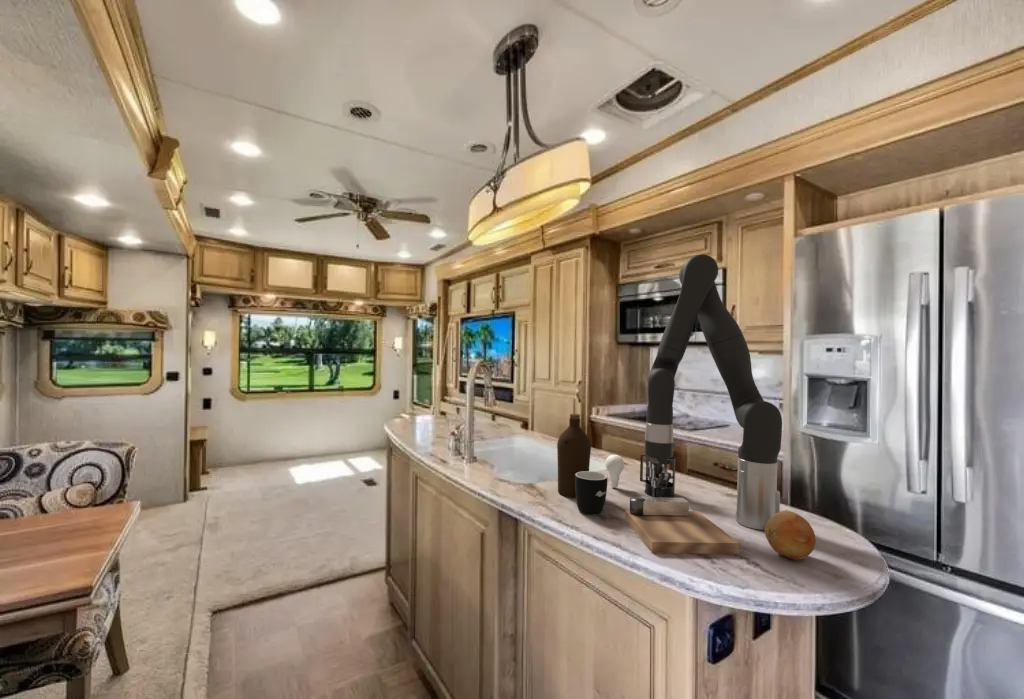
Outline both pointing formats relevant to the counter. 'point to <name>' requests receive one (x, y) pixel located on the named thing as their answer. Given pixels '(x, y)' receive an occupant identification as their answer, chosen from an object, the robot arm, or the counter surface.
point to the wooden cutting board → (681, 534)
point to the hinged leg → (659, 506)
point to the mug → (590, 492)
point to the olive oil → (572, 455)
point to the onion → (790, 535)
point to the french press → (670, 488)
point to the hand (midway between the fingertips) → (656, 500)
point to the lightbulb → (614, 469)
